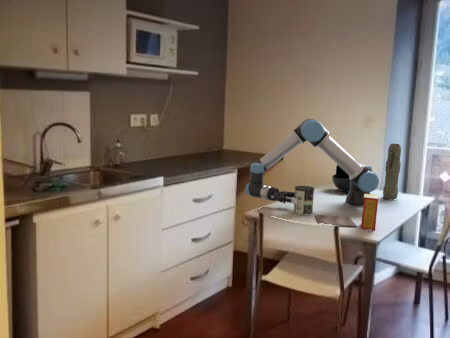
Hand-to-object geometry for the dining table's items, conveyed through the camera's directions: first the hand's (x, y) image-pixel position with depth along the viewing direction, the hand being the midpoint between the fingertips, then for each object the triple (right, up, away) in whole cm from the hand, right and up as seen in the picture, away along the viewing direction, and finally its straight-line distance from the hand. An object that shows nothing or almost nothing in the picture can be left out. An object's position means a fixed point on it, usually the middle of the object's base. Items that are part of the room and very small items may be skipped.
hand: (303, 199), depth 258 cm
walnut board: (+14, -10, -14) cm, 22 cm away
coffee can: (0, -7, +1) cm, 8 cm away
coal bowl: (+39, +1, +65) cm, 76 cm away
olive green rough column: (+63, -2, +50) cm, 80 cm away
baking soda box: (+28, -12, -21) cm, 37 cm away
